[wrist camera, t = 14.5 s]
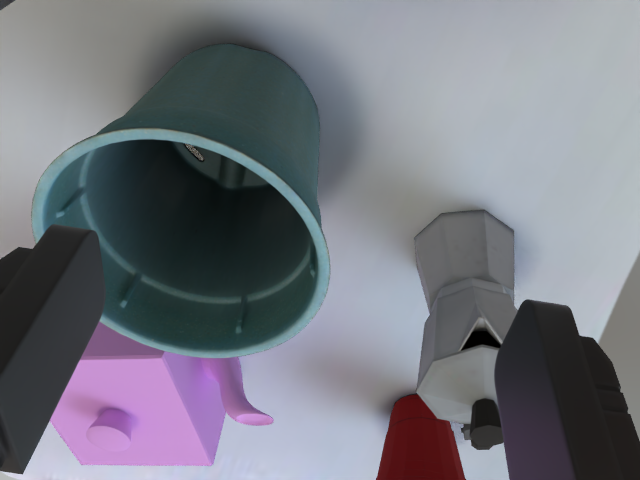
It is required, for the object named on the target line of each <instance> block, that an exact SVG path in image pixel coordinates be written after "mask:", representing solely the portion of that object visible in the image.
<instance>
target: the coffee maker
mask: <svg viewBox="0 0 640 480" xmlns="http://www.w3.org/2000/svg"><path fill="white" fill-rule="evenodd" d="M414 240H415V251H416V262H417V269H418V273H419V276H420V280H421V284H422V287H423V291H424V295H425V298H426V302H427V305H428V309H429V313H430V316H429V317H428V319H427V320H426V322H425V326H424V334H423V342H422V351H421V359H420V367H419V375H418V383H417V389H416V392H417V394H418V395H419V396H420V397H421V399H422V400H423V401H424V402H425V403H426V405H427V406H428V407H429V408H430V410H431V411H432V412H433V413H434V415H435V416H436V417H437V418H438V419H442V420H447V421H452V422H456V423H461V424H464V427H463V428H461V432H462V433H464V439H465V440H471V444H472V446H473V447H474V448H476V449H477V450H489V449H490V448H491V447H492V446H493V445H497V444H502V443H503V442H504V441H503V434H502V428H501V421H500V415H499V409H498V402H497V396H496V390H495V383H494V369H495V362H496V357H497V354H498V351H499V349H500V347H501V345H502V343H503V340H504V338H505V336H506V334H507V332H508V330H509V328H510V326H511V324H512V322H513V320H514V318H515V316H516V314H517V312H518V310H517V309H516V308H515V306H514V231H513V230H512V229H510V228H509V227H508V226H506V225H505V224H503V223H502V222H500V221H499V220H498V219H496V218H495V217H493V216H492V215H490V214H489V213H488V212H486V211H485V210H480V211H467V212H454V213H442V214H441V215H439V216H438V217H437V218H436V219H435V220H434V221H433V222H432V223H431V224H429V225H428V226H427V227H426V228H425V229H424V230H423V231H422V232H421V233H419V234H418V235H417V236H416V237H415V238H414Z"/></svg>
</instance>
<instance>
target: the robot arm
mask: <svg viewBox="0 0 640 480" xmlns="http://www.w3.org/2000/svg"><path fill="white" fill-rule="evenodd" d="M105 298H106V287H105V279H104V272H103V265H102V258H101V251H100V244H99V238H98V234H97V233H96V231H94V230H89V229H83V228H76V227H70V226H63V225H57V224H53V225H51V226H50V227H48V229H47V230H46V231H45V233H44V234H43V235H42V237H41V238H40V240H39V241H38V243H37V244H36V245H35V247H34V248H33V249H28V248H22V247H18V248H17V249H15V250H14V251H12V252H11V253H9V254H8V255H6V256H5V257H3V258H2V259H0V471H4V472H11V473H17V474H23V472H24V470H25V468H26V466H27V464H28V463H29V461H30V459H31V457H32V455H33V453H34V451H35V449H36V447H37V445H38V443H39V441H40V439H41V437H42V435H43V433H44V431H45V429H46V427H47V425H48V423H49V421H50V419H51V417H52V415H53V413H54V411H55V409H56V407H57V405H58V403H59V401H60V399H61V397H62V395H63V393H64V391H65V389H66V387H67V385H68V383H69V381H70V379H71V377H72V375H73V373H74V371H75V369H76V367H77V365H78V363H79V361H80V359H81V357H82V355H83V353H84V351H85V349H86V347H87V345H88V343H89V341H90V339H91V337H92V335H93V333H94V331H95V329H96V327H97V325H98V323H99V321H100V318H101V316H102V313H103V309H104V304H105ZM494 383H495V390H496V396H497V402H498V409H499V415H500V421H501V428H502V434H503V441H504V447H505V453H506V460H507V466H508V472H509V479H510V480H640V441H639V438H638V436H637V433H636V430H635V427H634V424H633V421H632V418H631V415H630V414H628V412H627V411H628V407H627V404H626V401H625V398H624V395H623V393H621V392H620V388H621V387H620V384H619V381H618V378H617V375H616V372H615V369H614V367H613V364H612V362H611V361H610V359H609V358H608V357H607V355H606V354H605V353H604V352H603V350H602V349H601V348H600V346H599V345H598V344H597V343H596V341H595V340H594V339H593V338H590V337H583V336H579V333H578V330H577V327H576V323H575V320H574V317H573V314H572V311H571V309H570V308H569V307H568V306H566V305H560V304H554V303H547V302H541V301H534V300H525V301H524V302H523V303H522V304H521V306H520V308H519V310H518V312H517V314H516V316H515V318H514V320H513V322H512V324H511V326H510V328H509V330H508V332H507V334H506V336H505V338H504V340H503V343H502V345H501V347H500V349H499V351H498V354H497V357H496V362H495V369H494Z"/></svg>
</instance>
